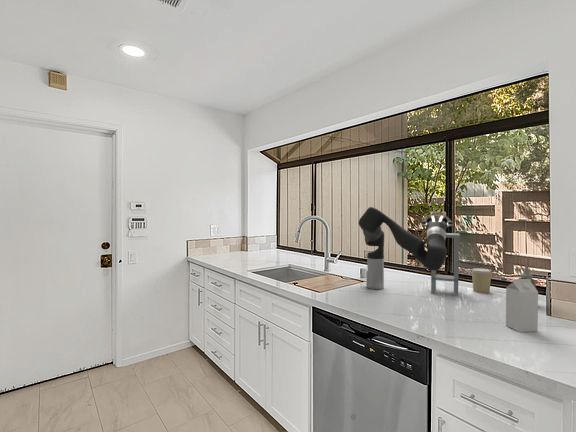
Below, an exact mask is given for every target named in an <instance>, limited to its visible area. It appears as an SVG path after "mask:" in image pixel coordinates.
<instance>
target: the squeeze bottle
mask: <svg viewBox="0 0 576 432" xmlns="http://www.w3.org/2000/svg"><path fill="white" fill-rule="evenodd" d="M519 275H520V277H518V279H531V283H532V284H533V285H534V287H535V288H536V289H537V287H536V282H535V279H534V278H533V274H531V273H530V269H529V267H528V266H524V268H523V272H522V273H520V274H519Z"/></svg>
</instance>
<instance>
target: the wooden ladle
mask: <svg viewBox="0 0 576 432" xmlns="http://www.w3.org/2000/svg"><path fill="white" fill-rule="evenodd" d="M433 212H435V215H434V218H435V220H439V218H440V212H442V213H443V217H445V216H447V212H446V211H430V216H431V215H432V213H433Z"/></svg>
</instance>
